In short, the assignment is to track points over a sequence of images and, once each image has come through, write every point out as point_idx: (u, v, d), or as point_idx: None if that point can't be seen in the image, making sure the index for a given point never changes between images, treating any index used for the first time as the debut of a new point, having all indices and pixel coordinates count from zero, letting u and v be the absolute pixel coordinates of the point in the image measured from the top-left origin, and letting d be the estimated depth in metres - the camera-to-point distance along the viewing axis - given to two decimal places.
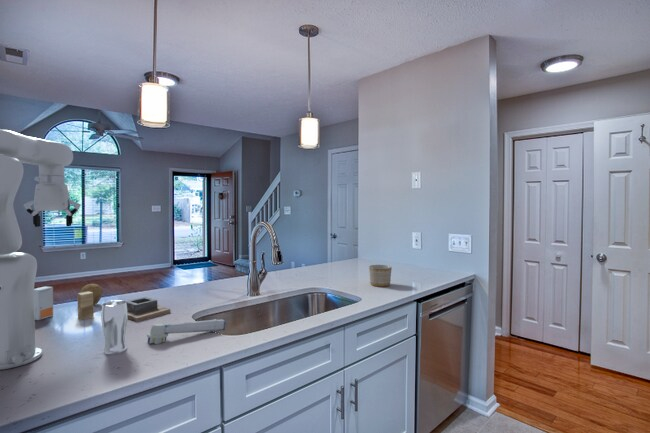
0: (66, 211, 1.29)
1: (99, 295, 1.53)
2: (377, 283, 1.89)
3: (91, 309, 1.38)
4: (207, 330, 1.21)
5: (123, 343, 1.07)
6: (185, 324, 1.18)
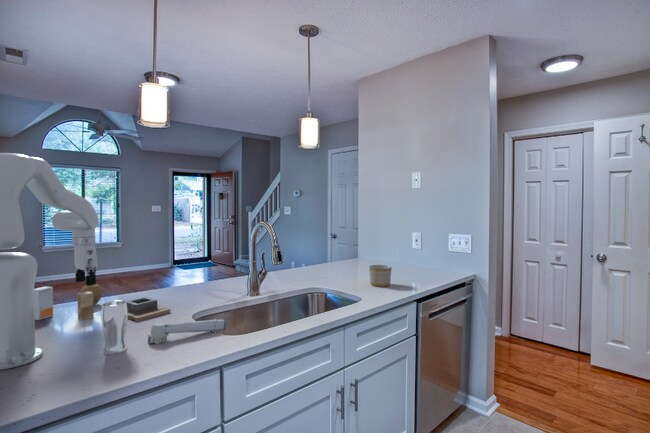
0: None
1: (99, 295, 1.53)
2: (377, 283, 1.89)
3: (91, 309, 1.38)
4: (207, 330, 1.21)
5: (123, 343, 1.07)
6: (185, 324, 1.18)
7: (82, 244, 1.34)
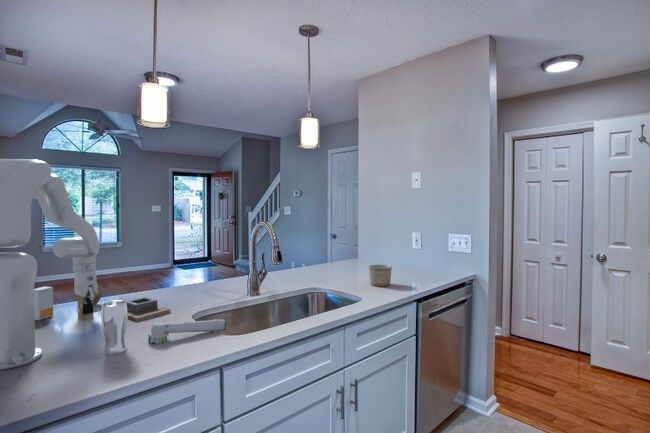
0: None
1: (99, 295, 1.53)
2: (377, 283, 1.89)
3: None
4: (208, 330, 1.21)
5: (123, 343, 1.07)
6: (186, 324, 1.18)
7: (82, 270, 1.34)
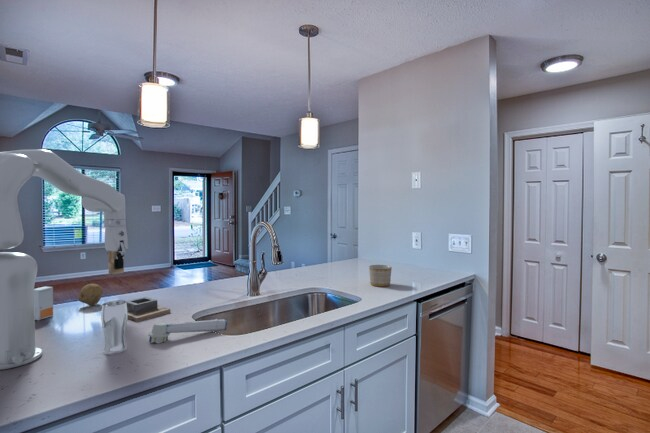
0: None
1: (99, 295, 1.53)
2: (377, 283, 1.89)
3: None
4: (209, 330, 1.21)
5: (123, 343, 1.07)
6: (186, 324, 1.18)
7: (114, 226, 1.37)
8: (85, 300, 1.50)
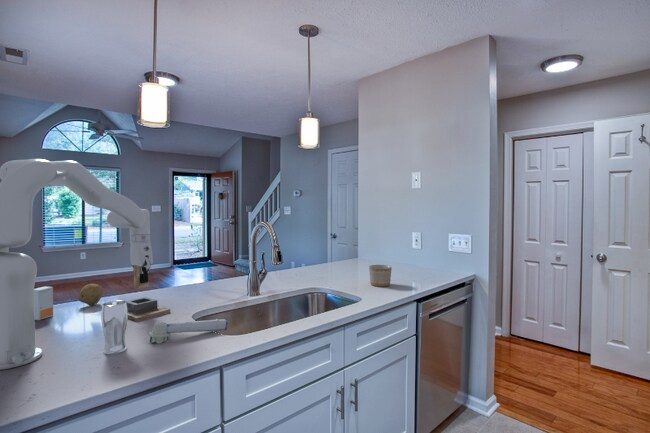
0: None
1: (99, 295, 1.53)
2: (377, 283, 1.89)
3: None
4: (209, 330, 1.21)
5: (123, 343, 1.07)
6: (187, 324, 1.18)
7: (139, 241, 1.40)
8: (85, 300, 1.50)
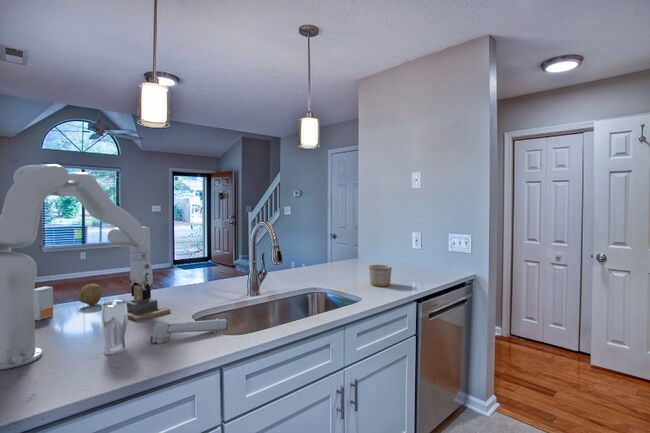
0: None
1: (99, 295, 1.53)
2: (377, 283, 1.89)
3: (146, 301, 1.44)
4: (210, 330, 1.22)
5: (123, 343, 1.07)
6: (187, 323, 1.18)
7: (140, 259, 1.40)
8: (85, 300, 1.50)
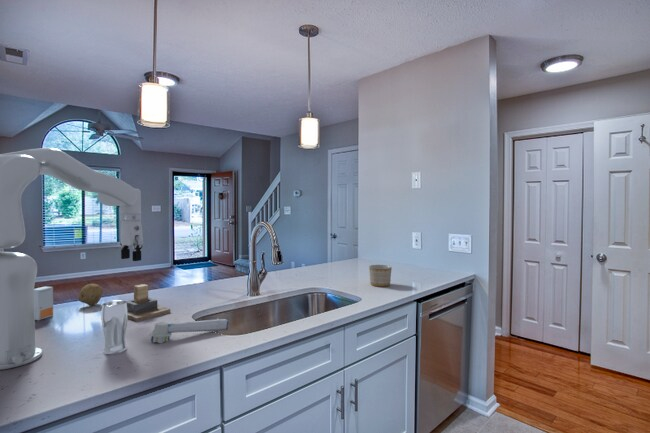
0: None
1: (99, 295, 1.53)
2: (377, 283, 1.89)
3: (146, 301, 1.44)
4: (210, 330, 1.22)
5: (123, 343, 1.07)
6: (188, 323, 1.18)
7: (130, 220, 1.38)
8: (85, 300, 1.50)
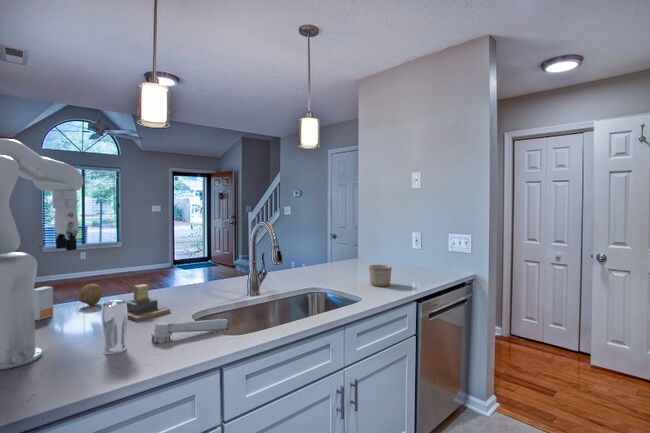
0: None
1: (99, 295, 1.53)
2: (377, 283, 1.89)
3: (146, 301, 1.44)
4: (211, 329, 1.22)
5: (123, 343, 1.07)
6: (189, 323, 1.18)
7: (62, 206, 1.28)
8: (85, 300, 1.50)
